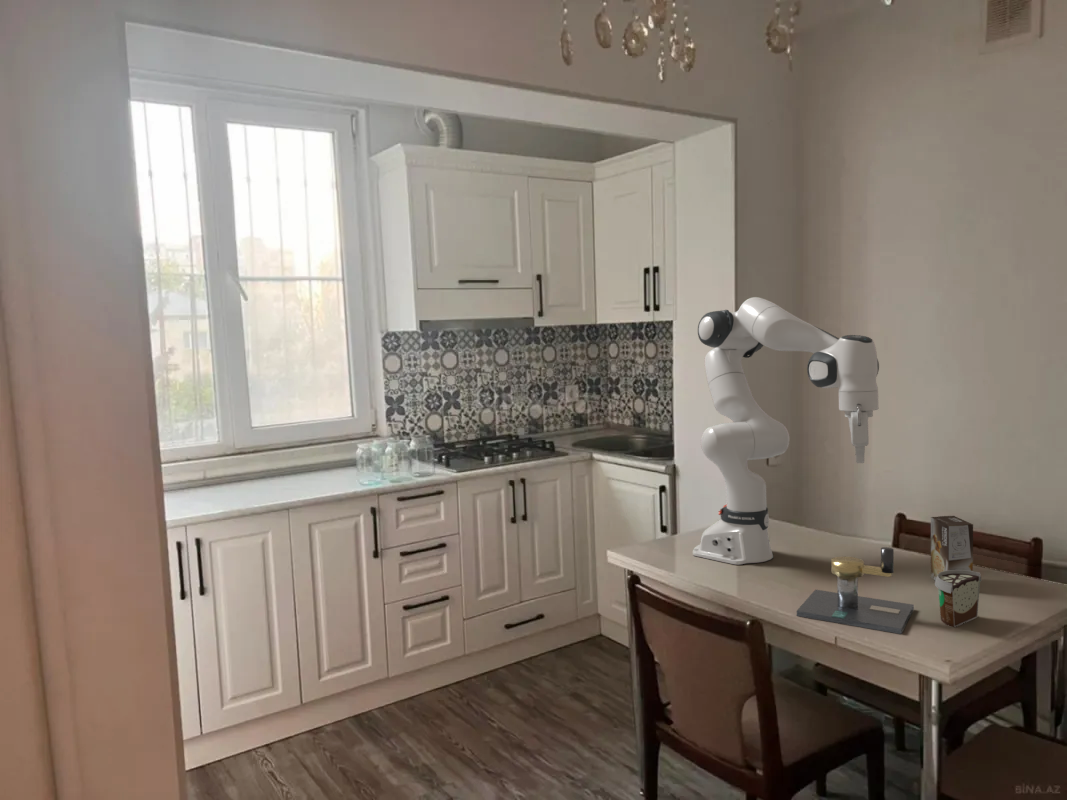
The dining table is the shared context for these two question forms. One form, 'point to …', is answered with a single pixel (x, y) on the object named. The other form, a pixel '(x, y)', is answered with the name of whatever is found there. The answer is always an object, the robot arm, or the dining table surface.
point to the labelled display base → (856, 608)
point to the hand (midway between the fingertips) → (859, 459)
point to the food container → (958, 596)
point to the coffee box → (951, 545)
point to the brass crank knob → (856, 566)
